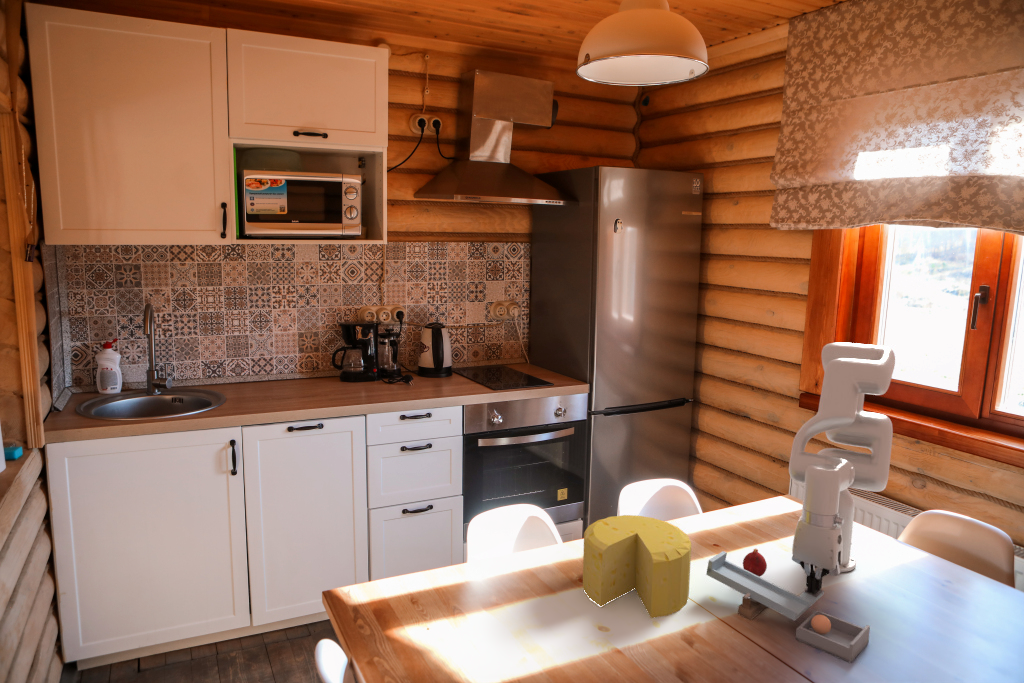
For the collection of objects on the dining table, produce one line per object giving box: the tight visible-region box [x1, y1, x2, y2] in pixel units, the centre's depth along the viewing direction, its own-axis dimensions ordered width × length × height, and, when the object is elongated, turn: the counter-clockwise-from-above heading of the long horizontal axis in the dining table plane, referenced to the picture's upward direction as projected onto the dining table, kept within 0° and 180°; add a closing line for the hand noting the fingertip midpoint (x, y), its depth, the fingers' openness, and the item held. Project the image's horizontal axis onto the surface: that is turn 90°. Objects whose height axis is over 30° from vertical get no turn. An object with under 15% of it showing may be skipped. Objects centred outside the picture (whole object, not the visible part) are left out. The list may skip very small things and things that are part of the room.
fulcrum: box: [737, 596, 768, 621], centre depth 160 cm, size 10×3×4 cm, turn 134°
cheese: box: [582, 514, 692, 619], centre depth 168 cm, size 26×26×15 cm
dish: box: [795, 610, 871, 664], centre depth 148 cm, size 10×12×4 cm
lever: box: [705, 550, 825, 622], centre depth 162 cm, size 18×22×4 cm
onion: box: [742, 548, 768, 577], centre depth 175 cm, size 6×6×8 cm
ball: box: [811, 615, 831, 634], centre depth 149 cm, size 4×4×4 cm
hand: (813, 591), depth 159 cm, fingers closed
